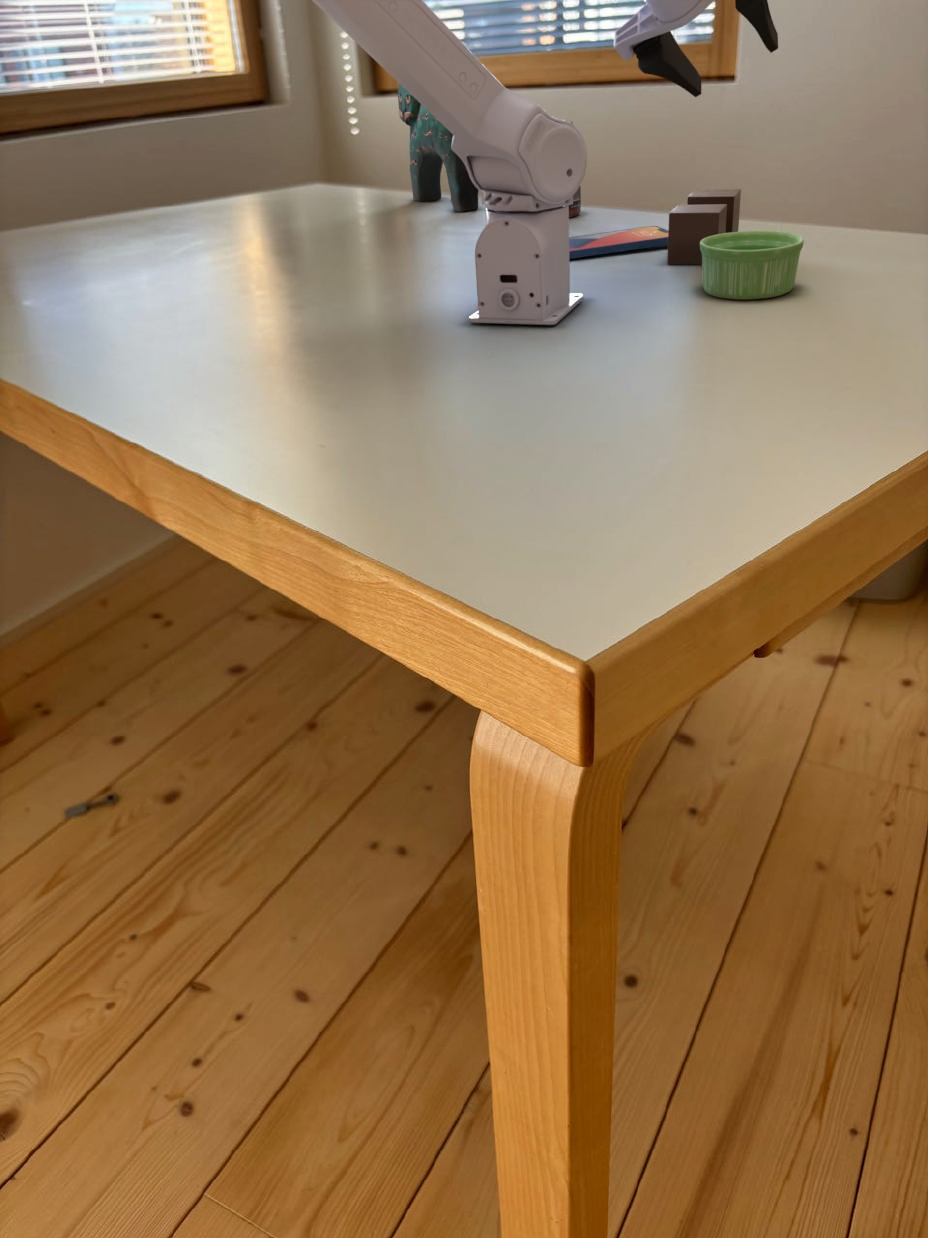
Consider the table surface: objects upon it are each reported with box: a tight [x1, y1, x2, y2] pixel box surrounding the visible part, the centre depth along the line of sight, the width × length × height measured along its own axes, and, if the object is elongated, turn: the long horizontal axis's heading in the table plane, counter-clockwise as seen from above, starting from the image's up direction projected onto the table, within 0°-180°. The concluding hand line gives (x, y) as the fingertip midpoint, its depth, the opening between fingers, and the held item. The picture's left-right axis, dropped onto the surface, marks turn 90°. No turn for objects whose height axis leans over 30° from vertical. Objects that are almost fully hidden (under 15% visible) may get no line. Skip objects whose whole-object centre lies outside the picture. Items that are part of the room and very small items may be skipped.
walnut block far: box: [686, 188, 742, 233], centre depth 110 cm, size 5×5×5 cm
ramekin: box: [700, 230, 805, 300], centre depth 90 cm, size 9×9×4 cm
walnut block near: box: [666, 204, 727, 266], centre depth 103 cm, size 5×5×5 cm
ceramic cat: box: [397, 83, 479, 213], centre depth 144 cm, size 20×6×20 cm, turn 24°
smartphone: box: [569, 225, 669, 260], centre depth 111 cm, size 7×15×1 cm, turn 104°
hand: (735, 65), depth 92 cm, fingers open, 7 cm apart
